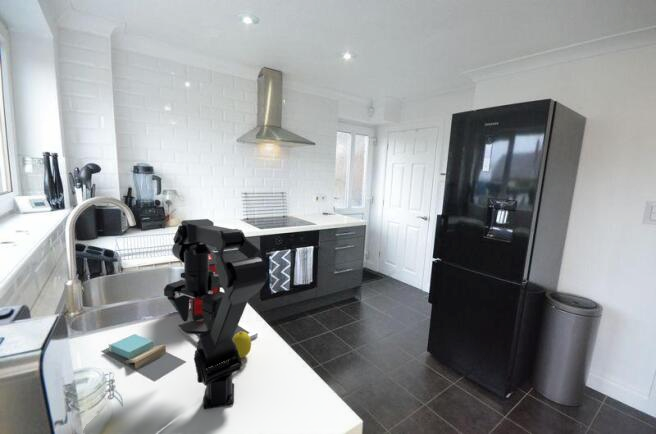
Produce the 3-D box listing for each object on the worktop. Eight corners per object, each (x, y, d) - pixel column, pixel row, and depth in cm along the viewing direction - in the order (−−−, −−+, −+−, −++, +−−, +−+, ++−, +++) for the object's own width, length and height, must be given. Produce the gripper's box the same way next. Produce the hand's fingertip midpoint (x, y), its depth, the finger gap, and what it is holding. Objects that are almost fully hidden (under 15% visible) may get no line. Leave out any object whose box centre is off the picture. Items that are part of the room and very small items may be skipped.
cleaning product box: (220, 316, 107) (219, 263, 104) (193, 321, 103) (192, 265, 100) (213, 298, 121) (213, 251, 119) (190, 302, 117) (189, 253, 114)
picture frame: (178, 333, 96) (211, 360, 83) (178, 325, 96) (211, 351, 83) (222, 316, 108) (257, 338, 95) (222, 309, 108) (257, 330, 95)
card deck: (153, 340, 84) (132, 333, 89) (129, 352, 79) (108, 343, 83) (153, 347, 85) (133, 339, 89) (129, 359, 79) (109, 350, 83)
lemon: (227, 357, 84) (227, 331, 82) (244, 349, 88) (244, 324, 87) (237, 366, 80) (237, 339, 79) (254, 358, 84) (255, 332, 83)
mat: (186, 363, 80) (186, 361, 80) (154, 382, 72) (154, 381, 72) (134, 337, 91) (134, 336, 91) (101, 352, 83) (101, 351, 83)
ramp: (166, 354, 84) (165, 344, 83) (137, 370, 76) (136, 359, 76) (154, 349, 86) (154, 339, 85) (125, 364, 79) (125, 353, 78)
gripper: (247, 267, 78) (246, 322, 80) (198, 255, 86) (198, 305, 88) (213, 279, 68) (213, 342, 70) (161, 264, 76) (163, 321, 78)
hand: (197, 325), depth 77 cm, fingers open, 9 cm apart
